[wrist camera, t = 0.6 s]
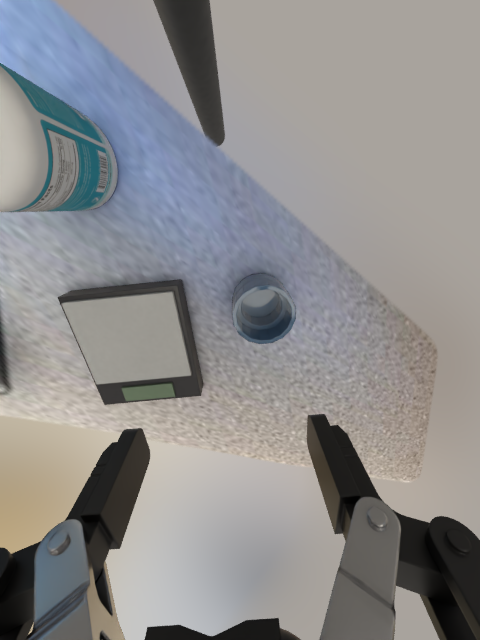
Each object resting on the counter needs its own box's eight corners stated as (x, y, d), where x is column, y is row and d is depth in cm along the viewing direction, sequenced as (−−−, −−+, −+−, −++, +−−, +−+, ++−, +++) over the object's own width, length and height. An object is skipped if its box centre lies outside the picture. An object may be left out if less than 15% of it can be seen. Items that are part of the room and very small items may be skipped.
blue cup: (229, 275, 25) (228, 289, 21) (284, 269, 25) (295, 282, 21) (235, 324, 28) (236, 346, 23) (285, 319, 28) (295, 340, 23)
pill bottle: (12, 128, 20) (-349, -8, 8) (93, 96, 19) (-160, -110, 7) (64, 221, 23) (-133, 234, 11) (136, 197, 22) (14, 180, 10)
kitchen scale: (70, 290, 26) (53, 299, 23) (182, 279, 25) (176, 286, 23) (112, 392, 31) (102, 408, 29) (203, 384, 31) (200, 398, 29)
